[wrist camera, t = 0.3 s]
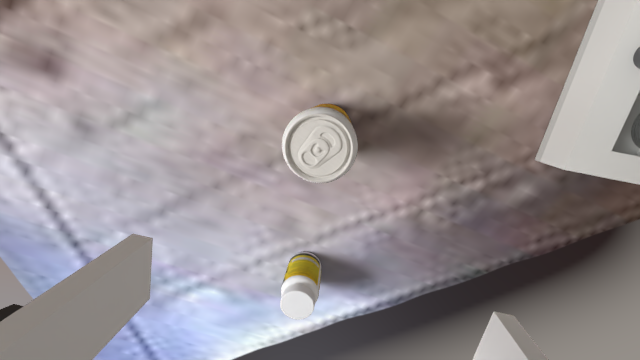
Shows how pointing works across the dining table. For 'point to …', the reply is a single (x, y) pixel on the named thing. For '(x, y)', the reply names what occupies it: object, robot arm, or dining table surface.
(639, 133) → the metal knob
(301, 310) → the supplement bottle
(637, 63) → the pot post
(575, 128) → the mount
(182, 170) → the dining table surface
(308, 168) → the beer can
